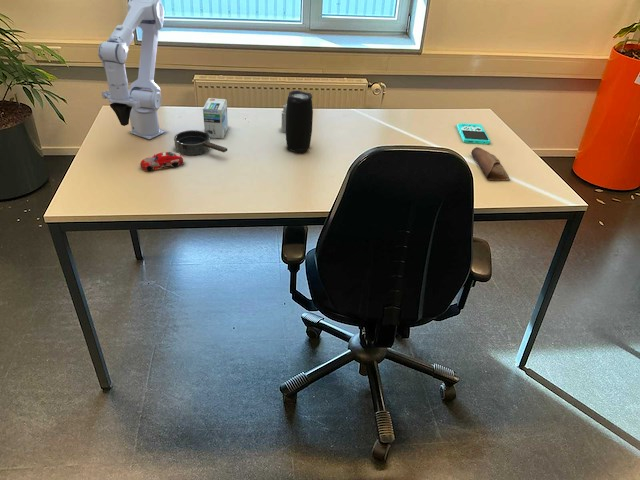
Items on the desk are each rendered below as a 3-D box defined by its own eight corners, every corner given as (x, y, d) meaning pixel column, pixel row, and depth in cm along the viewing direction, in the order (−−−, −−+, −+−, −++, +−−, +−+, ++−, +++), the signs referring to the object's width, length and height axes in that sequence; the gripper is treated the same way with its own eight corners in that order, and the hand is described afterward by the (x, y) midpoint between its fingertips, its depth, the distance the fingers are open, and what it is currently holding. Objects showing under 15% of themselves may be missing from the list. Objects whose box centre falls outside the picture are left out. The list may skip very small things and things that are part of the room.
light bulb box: (223, 139, 185) (221, 109, 178) (204, 137, 185) (202, 108, 178) (228, 126, 193) (227, 98, 187) (210, 125, 193) (208, 97, 187)
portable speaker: (315, 147, 184) (318, 92, 172) (302, 157, 177) (304, 101, 165) (293, 141, 186) (295, 87, 175) (280, 151, 180) (281, 95, 168)
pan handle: (203, 145, 173) (203, 143, 172) (207, 143, 174) (207, 141, 174) (224, 152, 170) (223, 150, 169) (227, 150, 171) (227, 148, 170)
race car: (142, 173, 162) (140, 161, 159) (139, 165, 166) (137, 154, 163) (185, 166, 166) (183, 155, 164) (181, 159, 170) (180, 148, 168)
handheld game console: (481, 127, 207) (482, 123, 206) (490, 144, 194) (491, 141, 193) (455, 125, 207) (456, 122, 206) (463, 142, 194) (464, 139, 193)
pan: (168, 149, 175) (166, 138, 173) (191, 138, 184) (190, 127, 182) (194, 159, 171) (193, 148, 169) (217, 146, 179) (216, 136, 177)
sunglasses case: (512, 179, 171) (506, 163, 167) (491, 188, 172) (485, 173, 169) (493, 154, 186) (487, 139, 182) (474, 163, 187) (468, 148, 183)
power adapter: (296, 132, 193) (297, 101, 186) (281, 132, 192) (281, 100, 185) (296, 129, 195) (297, 98, 188) (281, 128, 195) (282, 97, 188)
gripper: (90, 81, 160) (99, 122, 167) (124, 91, 154) (131, 134, 162) (108, 75, 165) (116, 116, 173) (142, 85, 159) (148, 127, 167)
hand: (124, 124), depth 168 cm, fingers closed
